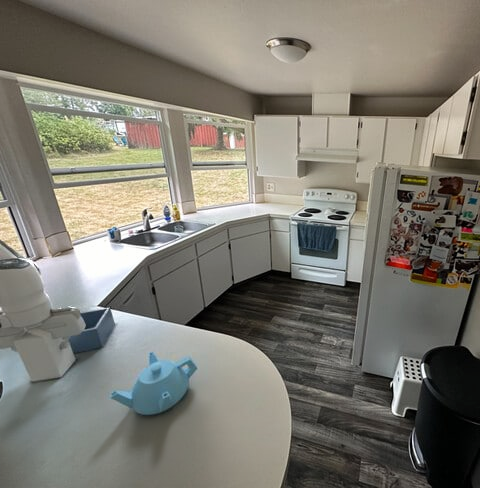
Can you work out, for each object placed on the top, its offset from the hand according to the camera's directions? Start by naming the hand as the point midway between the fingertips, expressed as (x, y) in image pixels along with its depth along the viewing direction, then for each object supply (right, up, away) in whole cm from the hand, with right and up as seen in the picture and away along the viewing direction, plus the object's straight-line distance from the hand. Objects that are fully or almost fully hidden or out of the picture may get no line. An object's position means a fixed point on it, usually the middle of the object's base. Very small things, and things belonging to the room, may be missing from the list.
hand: (46, 351), depth 76 cm
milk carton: (0, -7, +3) cm, 8 cm away
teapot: (+38, -11, -4) cm, 40 cm away
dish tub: (-3, -3, +16) cm, 16 cm away
